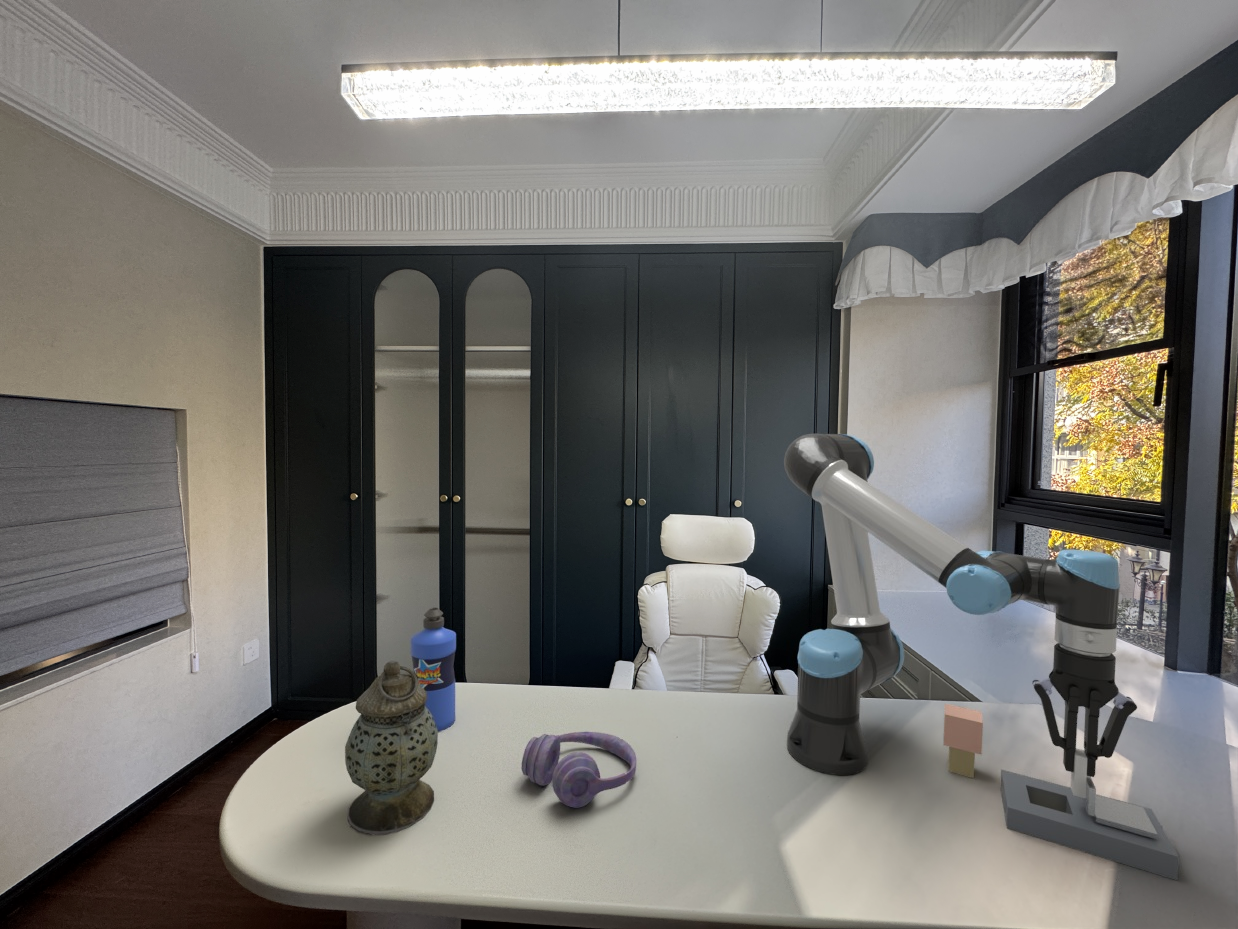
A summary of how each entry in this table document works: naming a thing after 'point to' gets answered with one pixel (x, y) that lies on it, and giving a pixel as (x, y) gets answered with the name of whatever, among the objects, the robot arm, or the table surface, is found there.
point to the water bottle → (436, 667)
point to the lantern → (391, 754)
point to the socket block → (1081, 825)
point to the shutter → (1117, 813)
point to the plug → (962, 738)
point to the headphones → (575, 766)
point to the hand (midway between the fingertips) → (1077, 792)
